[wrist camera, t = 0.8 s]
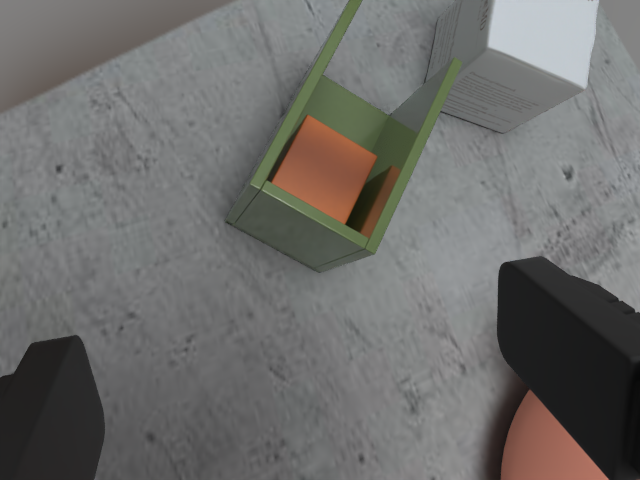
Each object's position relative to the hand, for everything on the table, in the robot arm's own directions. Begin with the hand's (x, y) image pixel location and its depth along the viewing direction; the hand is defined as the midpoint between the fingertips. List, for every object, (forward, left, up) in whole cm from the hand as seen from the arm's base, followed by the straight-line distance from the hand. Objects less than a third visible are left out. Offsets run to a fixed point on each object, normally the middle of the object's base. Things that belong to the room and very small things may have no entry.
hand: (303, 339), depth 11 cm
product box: (+15, +16, -19) cm, 29 cm away
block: (+4, +8, -18) cm, 20 cm away
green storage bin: (+5, +9, -19) cm, 21 cm away
